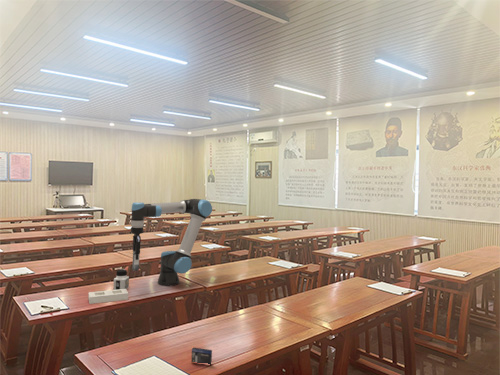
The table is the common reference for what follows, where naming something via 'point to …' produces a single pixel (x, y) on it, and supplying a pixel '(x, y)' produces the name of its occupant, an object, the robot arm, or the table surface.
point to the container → (121, 280)
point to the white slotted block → (107, 296)
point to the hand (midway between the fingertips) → (135, 263)
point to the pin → (134, 267)
